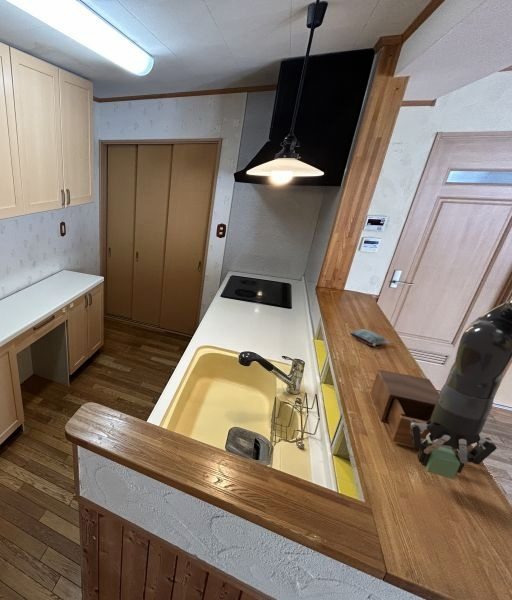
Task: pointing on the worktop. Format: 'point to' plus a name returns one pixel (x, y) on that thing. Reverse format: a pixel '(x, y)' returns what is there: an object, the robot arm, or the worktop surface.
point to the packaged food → (369, 337)
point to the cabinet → (401, 391)
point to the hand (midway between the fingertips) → (437, 466)
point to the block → (443, 462)
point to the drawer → (408, 419)
